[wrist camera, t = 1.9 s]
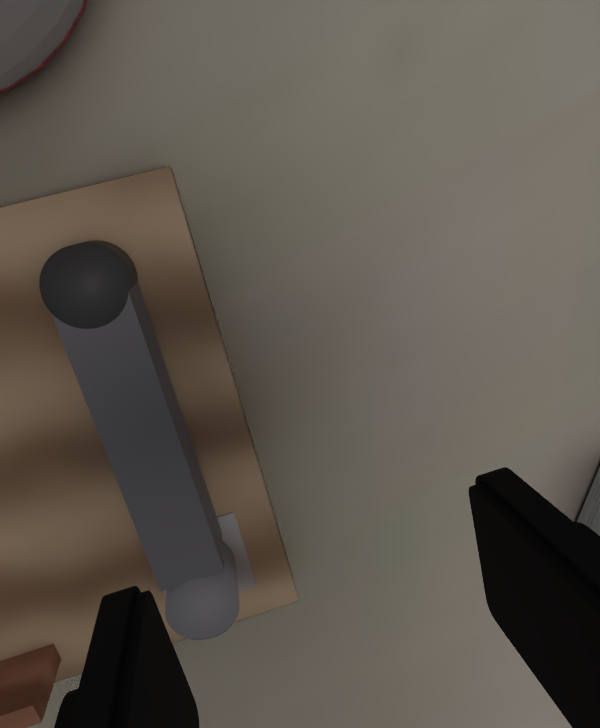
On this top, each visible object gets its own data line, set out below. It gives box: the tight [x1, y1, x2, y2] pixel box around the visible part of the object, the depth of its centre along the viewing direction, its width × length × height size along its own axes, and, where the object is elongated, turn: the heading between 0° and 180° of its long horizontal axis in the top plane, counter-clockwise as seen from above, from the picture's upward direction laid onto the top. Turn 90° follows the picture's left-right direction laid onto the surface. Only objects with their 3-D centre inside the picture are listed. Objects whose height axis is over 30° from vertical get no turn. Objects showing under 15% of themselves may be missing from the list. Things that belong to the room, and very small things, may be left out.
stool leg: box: [39, 240, 240, 640], centre depth 23 cm, size 18×3×3 cm, turn 14°
